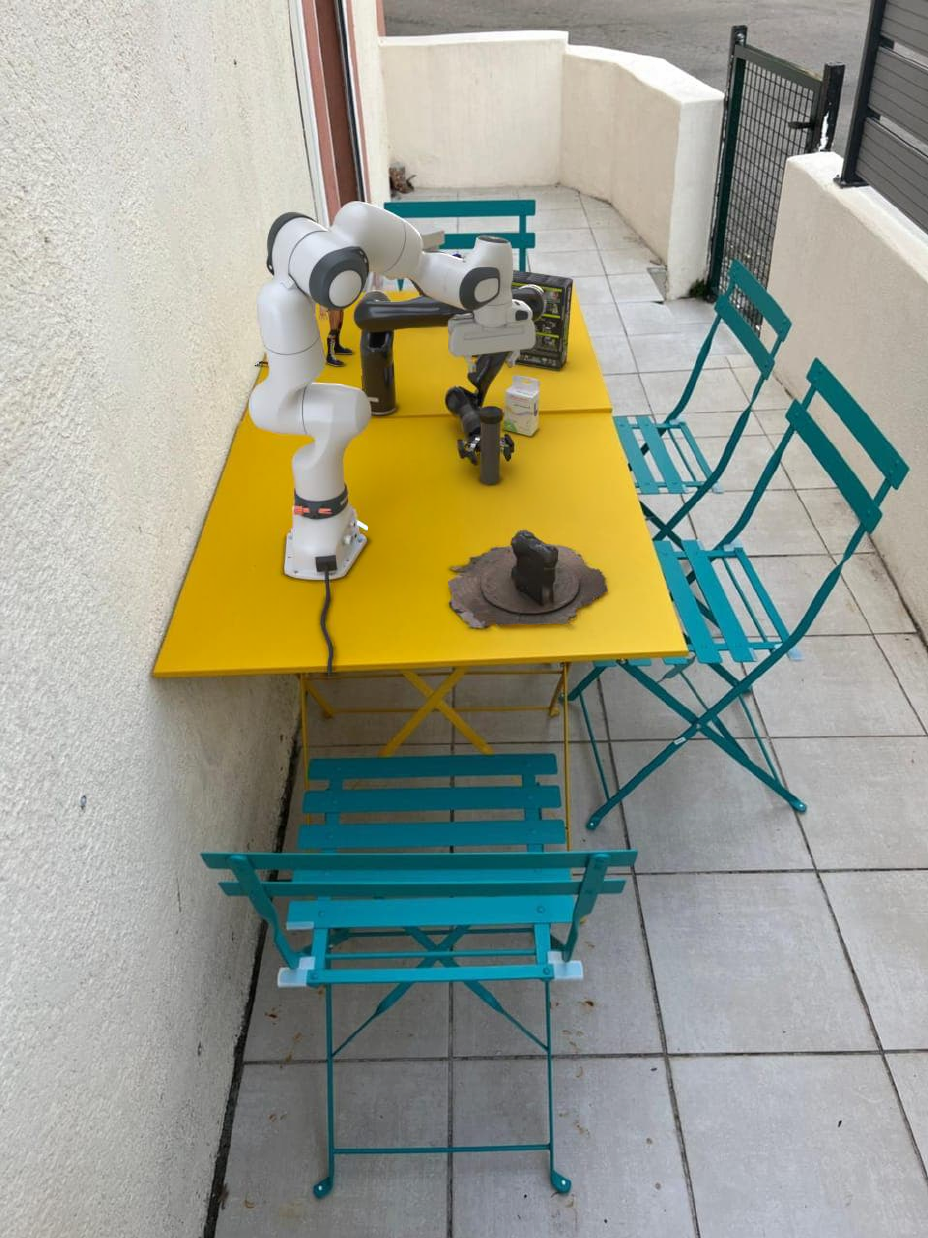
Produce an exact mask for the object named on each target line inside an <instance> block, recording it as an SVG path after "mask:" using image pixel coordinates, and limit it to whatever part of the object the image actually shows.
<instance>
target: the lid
mask: <svg viewBox="0 0 928 1238" xmlns="http://www.w3.org/2000/svg"><path fill="white" fill-rule="evenodd" d="M479 420H480V421H481V422H483V423H485V424H497V423H499V422H501V423H502V422H503V420H504V411H503V409H502V408H501V407H498V406H495V405H487V406H482V408H481V409H480V410H479Z"/></svg>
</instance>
